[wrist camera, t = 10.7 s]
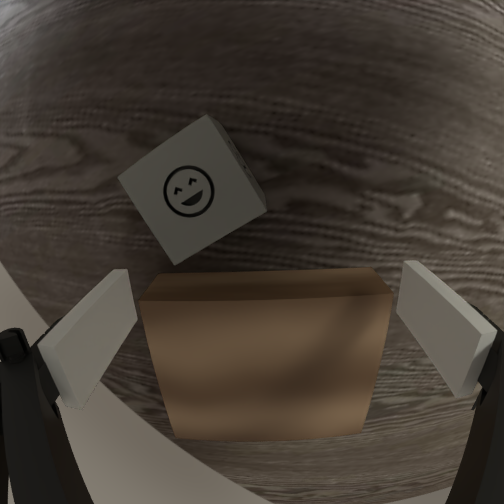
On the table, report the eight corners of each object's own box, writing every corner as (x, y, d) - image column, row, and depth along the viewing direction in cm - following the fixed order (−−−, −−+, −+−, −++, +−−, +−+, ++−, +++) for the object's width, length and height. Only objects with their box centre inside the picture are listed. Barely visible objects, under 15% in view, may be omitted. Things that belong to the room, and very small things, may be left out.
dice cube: (194, 236, 19) (151, 169, 18) (264, 194, 18) (220, 123, 17) (174, 265, 15) (117, 176, 13) (266, 211, 14) (206, 113, 12)
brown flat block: (158, 273, 20) (138, 300, 16) (371, 267, 20) (393, 293, 16) (184, 403, 24) (175, 438, 20) (350, 398, 23) (361, 432, 20)
